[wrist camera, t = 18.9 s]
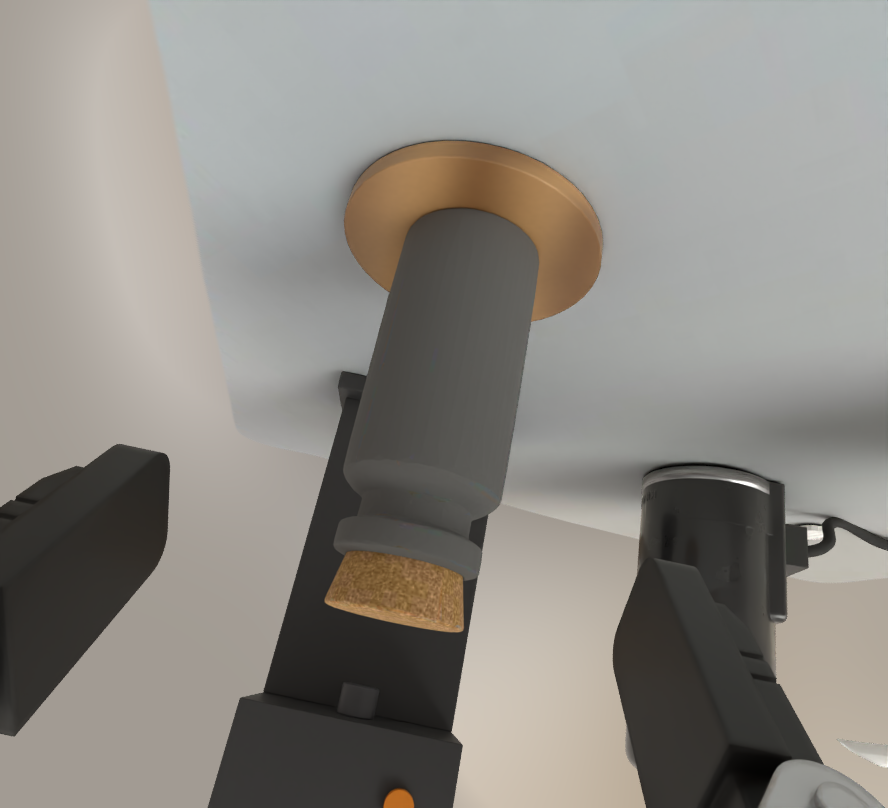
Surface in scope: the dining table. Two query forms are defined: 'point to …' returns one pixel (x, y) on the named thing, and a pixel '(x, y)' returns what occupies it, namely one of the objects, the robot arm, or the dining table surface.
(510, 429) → the bottle
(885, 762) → the coffeepot
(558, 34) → the dining table surface
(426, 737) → the coffee maker
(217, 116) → the dining table surface
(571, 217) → the disc
